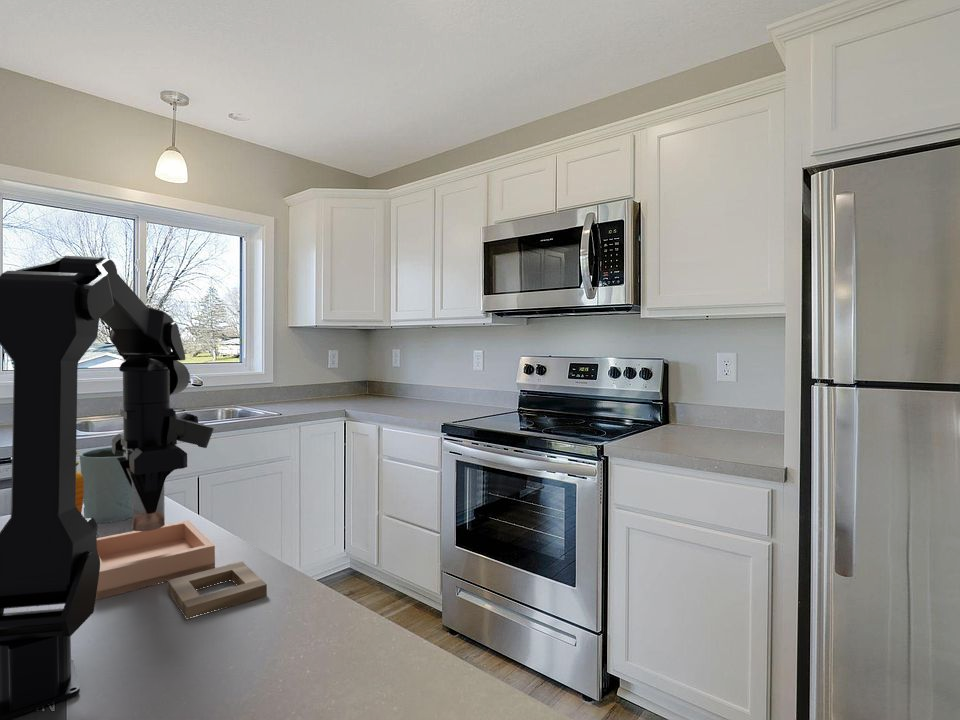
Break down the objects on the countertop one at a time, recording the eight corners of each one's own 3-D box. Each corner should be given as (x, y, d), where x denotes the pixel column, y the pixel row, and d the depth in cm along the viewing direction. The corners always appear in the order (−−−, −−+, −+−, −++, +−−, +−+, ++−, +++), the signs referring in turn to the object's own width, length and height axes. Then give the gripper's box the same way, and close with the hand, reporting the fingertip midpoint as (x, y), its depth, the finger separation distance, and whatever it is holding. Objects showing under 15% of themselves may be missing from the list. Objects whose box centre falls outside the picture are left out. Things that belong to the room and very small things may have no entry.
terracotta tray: (214, 569, 78) (214, 545, 78) (96, 599, 69) (96, 572, 69) (188, 541, 89) (188, 520, 88) (83, 564, 79) (83, 540, 79)
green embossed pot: (74, 515, 101) (73, 451, 100) (136, 503, 108) (136, 443, 108) (88, 528, 94) (87, 460, 93) (153, 515, 101) (153, 451, 101)
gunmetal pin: (167, 527, 78) (167, 479, 78) (135, 533, 76) (134, 483, 75) (161, 520, 81) (160, 473, 81) (129, 525, 79) (129, 478, 78)
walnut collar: (266, 595, 70) (266, 584, 70) (186, 619, 64) (186, 607, 64) (242, 571, 77) (242, 561, 77) (167, 591, 71) (167, 580, 71)
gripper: (227, 404, 76) (227, 513, 77) (191, 393, 90) (191, 486, 91) (134, 410, 69) (135, 531, 69) (110, 397, 83) (111, 498, 83)
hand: (147, 509), depth 78 cm, fingers closed on gunmetal pin, 4 cm apart
